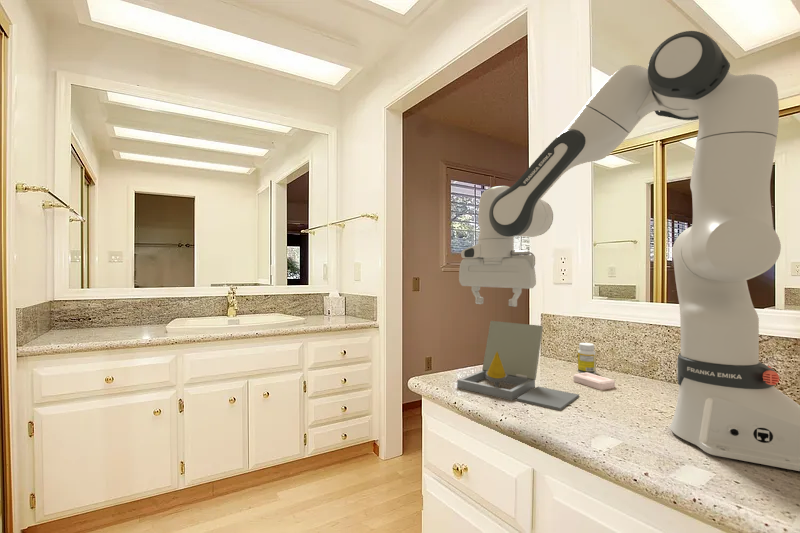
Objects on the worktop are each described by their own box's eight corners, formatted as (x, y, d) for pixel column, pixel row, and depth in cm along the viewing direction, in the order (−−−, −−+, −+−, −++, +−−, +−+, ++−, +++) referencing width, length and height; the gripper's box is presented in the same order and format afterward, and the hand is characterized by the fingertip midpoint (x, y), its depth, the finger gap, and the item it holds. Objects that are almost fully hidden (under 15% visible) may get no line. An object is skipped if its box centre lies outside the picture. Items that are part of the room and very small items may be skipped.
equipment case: (546, 381, 110) (546, 324, 110) (511, 400, 94) (511, 334, 94) (496, 371, 120) (495, 319, 120) (457, 387, 104) (457, 327, 104)
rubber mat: (578, 397, 96) (578, 394, 96) (560, 410, 87) (560, 408, 87) (537, 388, 103) (537, 386, 103) (516, 400, 94) (516, 398, 94)
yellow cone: (505, 382, 106) (506, 346, 104) (508, 393, 101) (509, 355, 99) (484, 382, 107) (485, 346, 105) (486, 392, 102) (487, 355, 100)
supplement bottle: (582, 369, 121) (582, 341, 121) (598, 373, 118) (598, 344, 118) (574, 372, 118) (574, 343, 118) (591, 376, 115) (590, 346, 115)
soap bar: (586, 380, 112) (586, 371, 112) (616, 389, 103) (616, 380, 103) (572, 382, 110) (572, 373, 110) (600, 392, 101) (600, 382, 101)
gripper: (540, 250, 100) (540, 307, 100) (468, 252, 113) (468, 301, 113) (529, 249, 95) (529, 309, 95) (455, 251, 108) (455, 303, 108)
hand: (495, 305), depth 104 cm, fingers open, 8 cm apart
